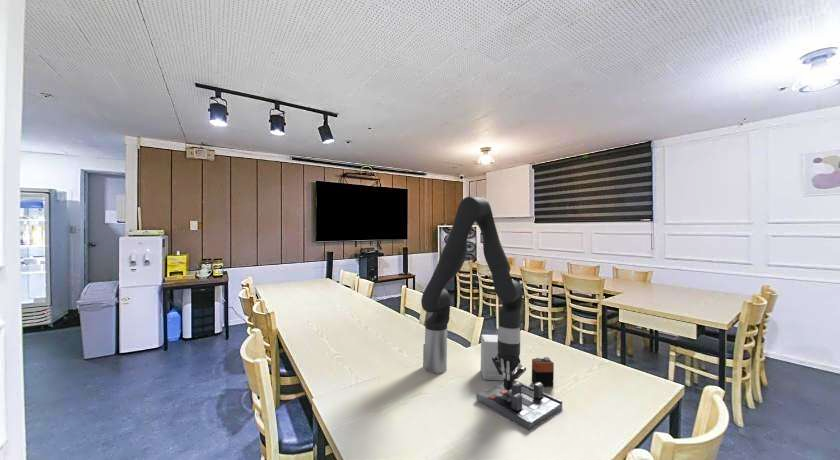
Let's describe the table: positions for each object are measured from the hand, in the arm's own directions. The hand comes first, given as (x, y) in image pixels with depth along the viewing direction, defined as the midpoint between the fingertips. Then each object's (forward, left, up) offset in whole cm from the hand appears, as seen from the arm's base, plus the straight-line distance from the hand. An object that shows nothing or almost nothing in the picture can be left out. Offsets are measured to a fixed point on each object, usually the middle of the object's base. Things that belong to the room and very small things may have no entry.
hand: (508, 389), depth 109 cm
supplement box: (-15, +10, -4) cm, 18 cm away
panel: (+4, 0, -3) cm, 5 cm away
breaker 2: (+8, -6, -1) cm, 10 cm away
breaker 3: (+8, +6, -1) cm, 10 cm away
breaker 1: (+3, 0, -1) cm, 3 cm away
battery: (+1, +19, -4) cm, 20 cm away
